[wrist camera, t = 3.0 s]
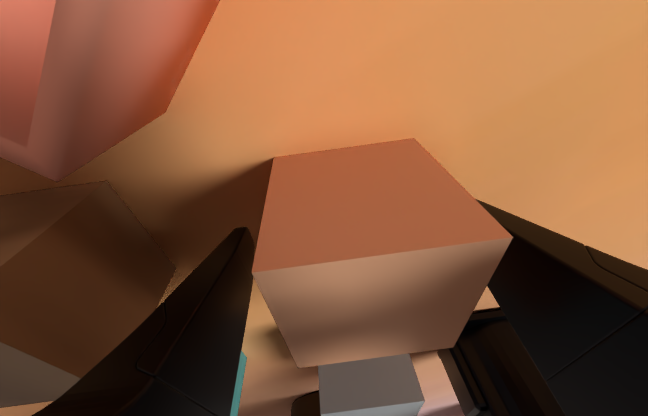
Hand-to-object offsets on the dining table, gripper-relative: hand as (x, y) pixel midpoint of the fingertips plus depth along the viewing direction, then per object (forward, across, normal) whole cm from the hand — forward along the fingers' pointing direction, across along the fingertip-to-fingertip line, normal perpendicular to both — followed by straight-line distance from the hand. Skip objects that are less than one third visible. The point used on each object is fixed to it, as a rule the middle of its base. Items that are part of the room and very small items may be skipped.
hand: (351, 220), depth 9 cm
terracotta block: (+1, 0, 0) cm, 1 cm away
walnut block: (+1, +11, 0) cm, 11 cm away
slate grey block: (+1, 0, +11) cm, 11 cm away
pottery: (+1, +2, -14) cm, 14 cm away
